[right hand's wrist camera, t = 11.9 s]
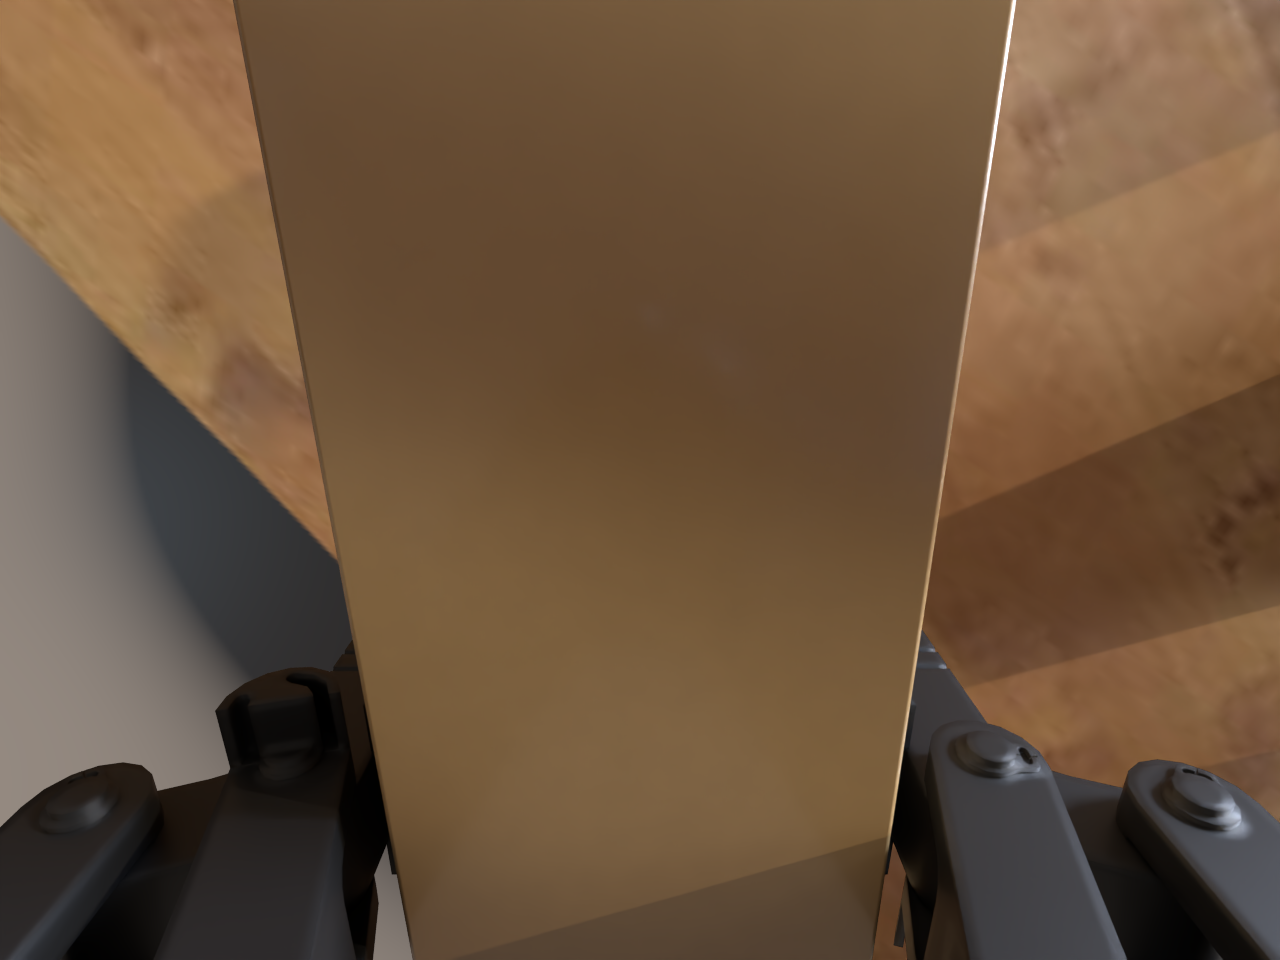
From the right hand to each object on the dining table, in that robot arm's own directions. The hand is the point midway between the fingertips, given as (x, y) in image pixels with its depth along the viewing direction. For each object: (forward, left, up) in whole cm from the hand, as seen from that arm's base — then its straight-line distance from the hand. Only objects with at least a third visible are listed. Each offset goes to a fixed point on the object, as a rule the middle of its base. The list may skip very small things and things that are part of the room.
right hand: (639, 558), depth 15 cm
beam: (-11, -34, -1) cm, 35 cm away
